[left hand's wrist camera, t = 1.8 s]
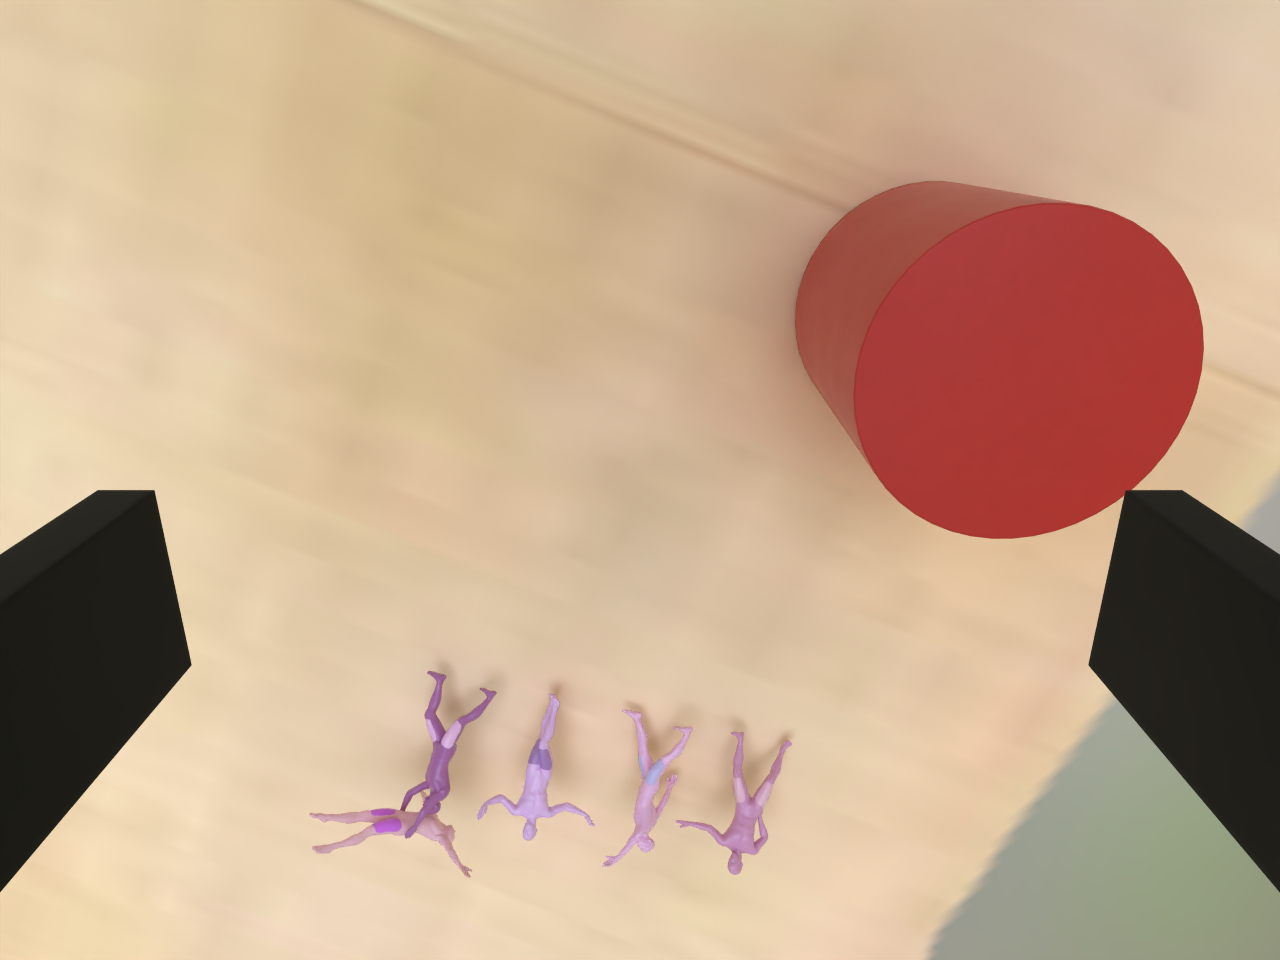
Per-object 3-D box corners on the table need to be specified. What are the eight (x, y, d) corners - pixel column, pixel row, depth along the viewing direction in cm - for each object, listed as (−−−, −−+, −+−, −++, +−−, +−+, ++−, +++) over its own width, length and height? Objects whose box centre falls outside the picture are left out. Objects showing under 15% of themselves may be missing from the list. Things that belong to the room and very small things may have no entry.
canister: (849, 468, 33) (922, 588, 25) (755, 254, 31) (800, 305, 22) (1077, 367, 32) (1239, 456, 23) (1000, 132, 29) (1153, 134, 20)
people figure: (812, 763, 34) (760, 955, 34) (775, 721, 40) (731, 885, 40) (350, 650, 33) (294, 852, 33) (380, 622, 38) (333, 794, 38)
